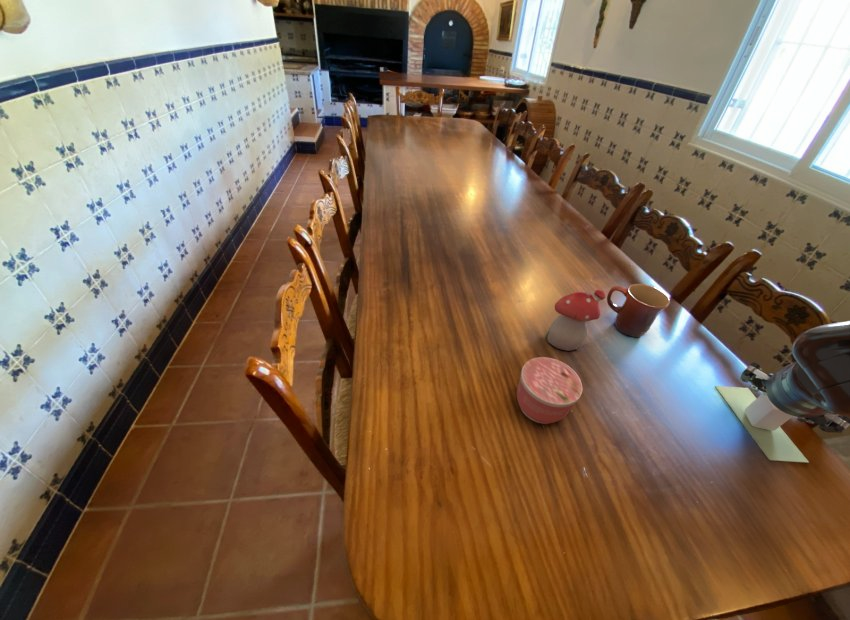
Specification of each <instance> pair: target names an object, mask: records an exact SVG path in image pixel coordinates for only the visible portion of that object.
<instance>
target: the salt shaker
mask: <svg viewBox="0 0 850 620" xmlns="http://www.w3.org/2000/svg"><path fill="white" fill-rule="evenodd" d="M756 398H757V399H756V400H755V401H754V402H752V403H751V404H750V405H749V406H748V407H747V408H746V409H745V414H746V416H747V418H748V420H749V421H750V423H751V425H752V426H754V427H757V428H761V429H766V430H770V431H774V430H776V429H777V428H779V427H782V426H783V425H784V424H785V423H786V422H787V421H789V420H790V419H792V418H794V416H792V415H789V414H787V413H784V412H782V411H781V410H779V409H778V408H777V407H775V406H774V405H773V404H772V403H771V401H770V400H769V398H768V396H766V395H763V394H762V393H761V394H760V395H759V396H758V397H756Z"/></svg>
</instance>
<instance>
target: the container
mask: <svg viewBox="0 0 850 620" xmlns="http://www.w3.org/2000/svg"><path fill="white" fill-rule="evenodd" d="M582 394H583V384H582V381H581V378H580V376H579V375H578V374H577V372H576V371H575V370H574V369H573V368H572V367H570V366H569V365H568V364H566V363H565V362H563V361H561V360H559V359H555V358H553V357H552V358H551V357H548V356H547V357H545V356H540V357H534V358H531V359H529V360H527V361H526V362H525V364H524V365H523V366H522V368H521V372H520V378H519V381H518V385H517V387H516V399H517V404H518V405H519V408H520V410H521V412H522V413H523V414H524V415H525V417H526V418H528V419H529V420H531V421H533V422H534V423H538V424H541V425H549V424H554V423H556V422H559V421H562V420H563V419H564V418H566V417H567V415H568V414H569V413H570V411H571V410H572V408H573V407H574V405H575V404H576V403H577V402H578V401H579V400H580V398H581V396H582Z"/></svg>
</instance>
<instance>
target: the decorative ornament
mask: <svg viewBox="0 0 850 620" xmlns="http://www.w3.org/2000/svg"><path fill="white" fill-rule="evenodd" d="M606 298H607V295H606V292H605V291H604V290H602V289H596V290H595V291H594V293H589V292H587V291H574V292H572V293H569V294H566V295H564V296H562V297H561V298H559V299H558V300H557V301H556V302H555V303H554V310H555V312H557V313H558V314H559V316H557V317H556V318H555V319H554V320H553V321H552V322H551V324H550V326H549V327H548V331H547V333H546V335H545V339H546V341H547V343H549V344H550V345H551V346H553V347H554V348H556V349H558V350H563V351H567V352H570V351H574V350H577V349H578V348H579V347H580V346H581V345H582V344H583V342H585V340H586V338H587V336H588V324H587V322H591V321H596V320H599V318H600V317H601V315H602V314H601V313H602V312H601V306H600V301H603V300H605V299H606Z"/></svg>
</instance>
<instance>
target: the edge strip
mask: <svg viewBox="0 0 850 620" xmlns="http://www.w3.org/2000/svg"><path fill="white" fill-rule="evenodd" d="M714 387H715V389H716V390H717V391H718V394H719V395H720V396H721V397H722V398H723V400H724V401H725V402H726V404H727V405H728V407H729V408H730V409H731V410H732V412H733V413H734V415H735V416H736V417H737V419H738V420H739V421H740V423H741V424H742V425H743V428H745V430H746V431H747V432H748V435H750V436H751V438H752V439H753V440H754V442H755V443H756V445H757V446H758V447H759V448H760V450H761V451H762V453H763V454H764V455H765V456H766V459H768V461H769V462H773V461H774V462H787V463H788V462H789V463H802V464H803V463H804V464H809V463H810V461H809V460H808V459H807V458H806V457H805V455H804V454H803V453H802V452H801V450H800V449H799V448H798V447H797V446H796V444H795V443H794V442H793V441H792V440H791V438H790V437H789V435H787V434H786V432H785V431H784V430H783V429H782V426H780V427H779V428H777V429H776V430H774V431H770V430H766V429H761V428H757V427H754V426H752V425H751V423H750V421H749V420H748V418H747V416H746V414H745V409H746V408H747V407H748V406H749V405H750V404H751V403H752V402H754V401H755V400H756V399H757V398H758V397H756V395H755V394H754V392H753V391H752V390H751V389H749V388H750V387H740V386H739V387H738V386H723V385H714Z"/></svg>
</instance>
